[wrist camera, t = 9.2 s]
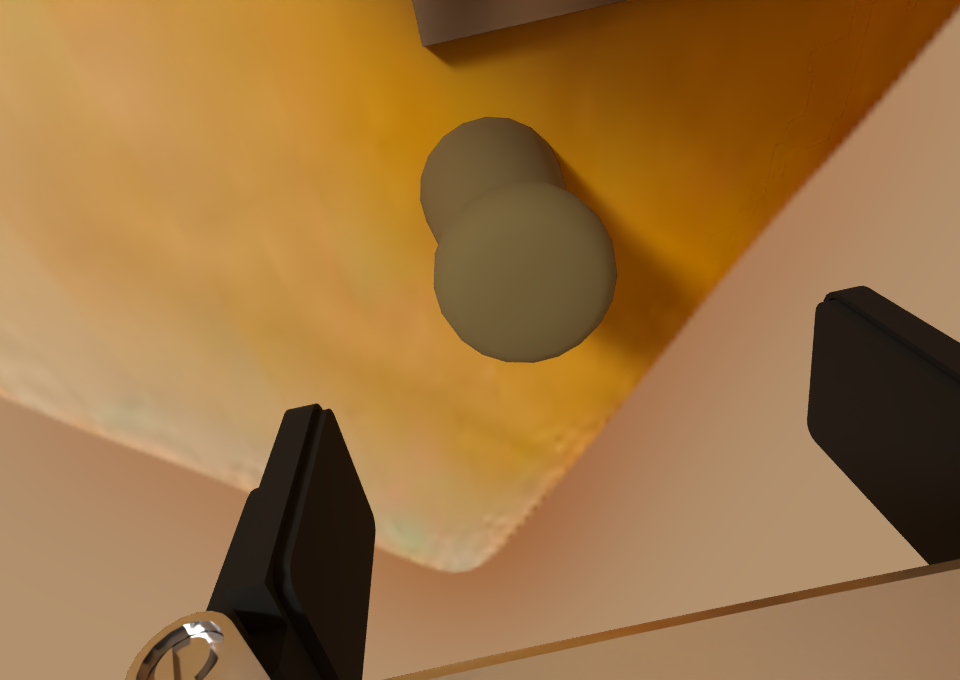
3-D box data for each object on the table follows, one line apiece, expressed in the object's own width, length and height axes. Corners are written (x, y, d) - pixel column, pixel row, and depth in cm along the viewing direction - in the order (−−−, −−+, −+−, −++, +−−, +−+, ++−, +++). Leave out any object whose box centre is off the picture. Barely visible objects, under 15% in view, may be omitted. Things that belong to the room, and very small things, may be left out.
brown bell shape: (394, 155, 24) (375, 245, 15) (533, 90, 24) (609, 141, 14) (455, 281, 27) (473, 426, 18) (581, 226, 27) (672, 347, 17)
